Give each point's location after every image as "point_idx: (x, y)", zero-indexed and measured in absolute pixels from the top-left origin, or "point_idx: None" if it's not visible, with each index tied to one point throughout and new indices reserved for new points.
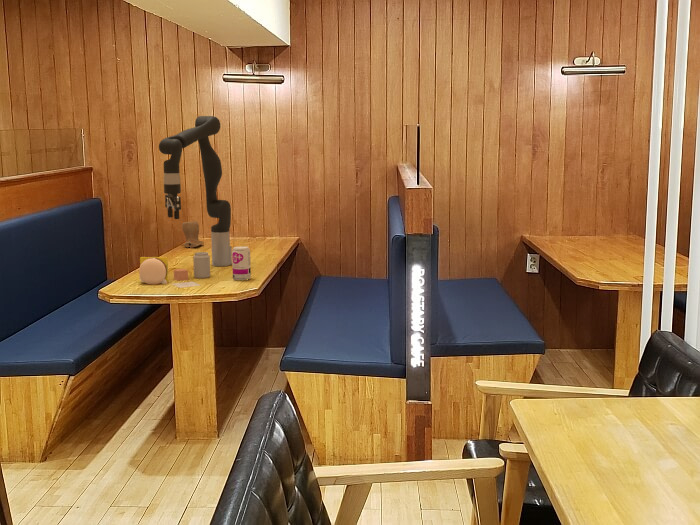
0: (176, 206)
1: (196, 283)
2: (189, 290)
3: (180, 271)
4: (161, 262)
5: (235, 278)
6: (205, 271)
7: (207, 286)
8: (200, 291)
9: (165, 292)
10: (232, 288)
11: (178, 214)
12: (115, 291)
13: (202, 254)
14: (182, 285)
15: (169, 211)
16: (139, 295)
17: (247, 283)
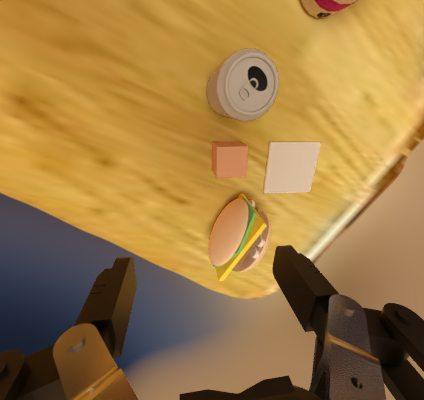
0: (421, 381)
1: (297, 143)
2: (334, 178)
3: (246, 168)
4: (269, 235)
5: (330, 15)
6: (259, 89)
7: (330, 128)
8: (358, 162)
9: (316, 221)
10: (391, 84)
11: (320, 276)
12: (251, 285)
13: (276, 93)
14: (294, 178)
15: (124, 323)
16: None
17: (379, 6)
